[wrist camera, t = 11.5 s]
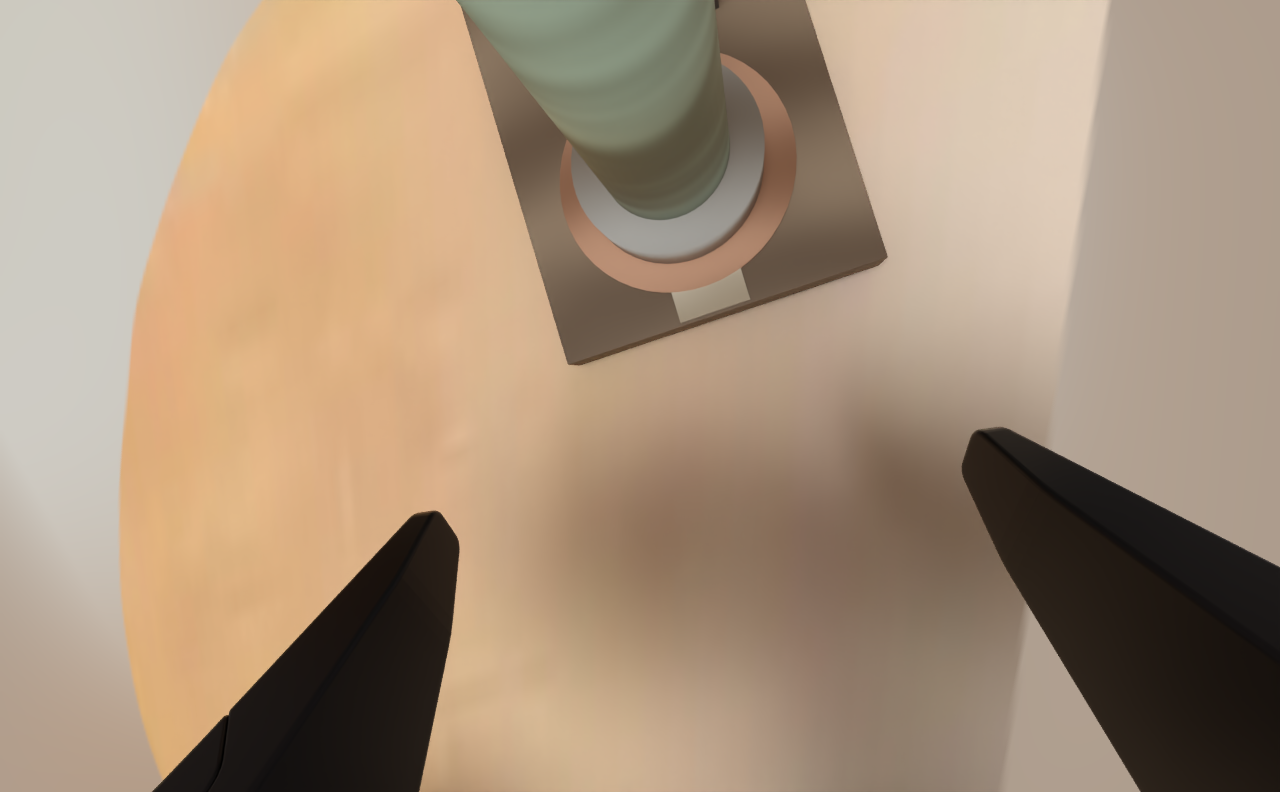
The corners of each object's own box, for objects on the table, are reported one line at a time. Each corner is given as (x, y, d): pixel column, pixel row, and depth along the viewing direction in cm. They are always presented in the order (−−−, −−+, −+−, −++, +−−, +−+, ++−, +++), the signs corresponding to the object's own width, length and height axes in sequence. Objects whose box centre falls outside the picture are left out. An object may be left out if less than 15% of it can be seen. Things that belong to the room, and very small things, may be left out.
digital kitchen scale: (878, 265, 17) (910, 236, 13) (579, 365, 19) (541, 362, 16) (753, -125, 17) (753, -249, 14) (477, 22, 20) (418, -53, 16)
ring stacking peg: (781, 236, 16) (895, -397, 3) (606, 283, 17) (147, -4, 4) (742, 54, 16) (685, -1367, 3) (570, 115, 18) (11, -676, 4)
